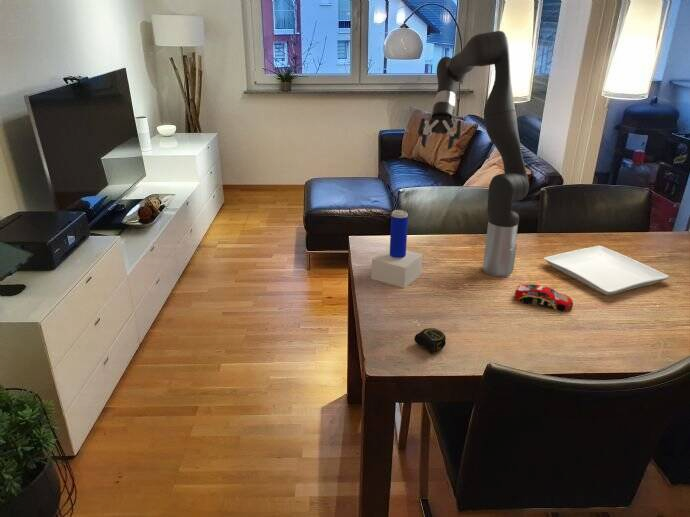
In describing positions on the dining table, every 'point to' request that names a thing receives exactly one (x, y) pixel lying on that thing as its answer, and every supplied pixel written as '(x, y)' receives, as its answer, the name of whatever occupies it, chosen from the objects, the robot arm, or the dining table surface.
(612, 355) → the dining table surface
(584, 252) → the square plate
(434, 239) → the dining table surface
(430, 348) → the tape measure
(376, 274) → the plain grey cuboid
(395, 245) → the beverage can
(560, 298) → the race car
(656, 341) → the dining table surface
